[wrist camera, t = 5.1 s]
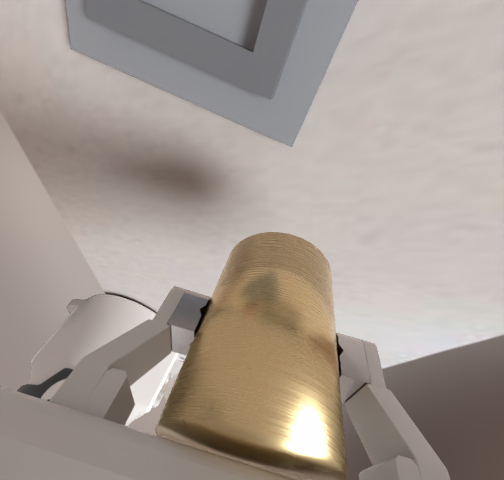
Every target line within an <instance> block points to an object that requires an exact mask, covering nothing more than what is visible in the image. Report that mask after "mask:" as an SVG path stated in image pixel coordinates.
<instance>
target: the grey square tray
mask: <svg viewBox="0 0 504 480" xmlns="http://www.w3.org/2000/svg"><path fill="white" fill-rule="evenodd" d="M65 2H66V10H67V19H68V27H69V36H70V44H71V49H73V50H75V51H77V52H79V53H82V54H84V55H86V56H88V57H91V58H93V59H95V60H97V61H100V62H102V63H104V64H106V65H109V66H111V67H113V68H115V69H117V70H120V71H122V72H124V73H126V74H129V75H131V76H133V77H135V78H138V79H140V80H142V81H144V82H147V83H149V84H151V85H153V86H156V87H158V88H160V89H162V90H165V91H167V92H169V93H171V94H174V95H176V96H178V97H180V98H183V99H185V100H187V101H189V102H192V103H194V104H196V105H198V106H201V107H203V108H205V109H207V110H209V111H212V112H214V113H216V114H218V115H221V116H223V117H225V118H227V119H230V120H232V121H234V122H236V123H239V124H241V125H243V126H245V127H248V128H250V129H252V130H254V131H257V132H259V133H261V134H263V135H266V136H268V137H270V138H272V139H275V140H277V141H279V142H281V143H284V144H286V145H288V146H290V147H292V146H293V144H294V141H295V139H296V137H297V135H298V133H299V130H300V128H301V126H302V124H303V121H304V119H305V117H306V115H307V113H308V110H309V108H310V106H311V104H312V101H313V99H314V97H315V95H316V93H317V90H318V88H319V86H320V84H321V81H322V79H323V77H324V75H325V73H326V70H327V68H328V66H329V64H330V61H331V59H332V57H333V55H334V53H335V50H336V48H337V46H338V44H339V42H340V39H341V37H342V35H343V33H344V30H345V28H346V26H347V24H348V22H349V19H350V17H351V15H352V13H353V10H354V8H355V6H356V4H357V2H358V0H65Z"/></svg>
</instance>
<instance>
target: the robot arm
mask: <svg viewBox="0 0 504 480" xmlns="http://www.w3.org/2000/svg"><path fill="white" fill-rule="evenodd" d="M210 300H211V297H209V296H205V295H202V294H199V293H196V292H193V291H189V290H186V289H183V288H179V287H176V286H174V287H173V288H172V289H171V291H170V292H169V294H168V296H167V297H166V299H165V300H164V302H163V304H162V305H161V307H160V309H159V310H158V312H157V313H154V312H153V311H151V310H149V309H148V308H146V307H144V306H142V305H140V304H138V303H136V302H134V301H131V300H129V299H126V298H123V297H119V296H115V295H108V294H99V295H94V296H92V297H90V298H88V299H86V300H78V299H76V300H72V301H71V302H70V303H69V304H68V306H67V309H68V311H69V313H70V315H69V316H68V318H67V319H66V320H65V321H64V322H63V323H62V325H61V326H60V327H59V328H58V329H57V330H56V331H55V333H54V334H53V335H52V336H51V337H50V338H49V340H48V341H47V342H46V343H45V344H44V346H43V347H42V348H41V349H40V350H39V351H38V353H37V354H36V355H35V356H34V357H33V359H32V361H31V370H32V374H31V378H30V381H29V383H28V384H26V385H23V386H21V387H20V388H19V389H18V390H17V391H14V390H11V389H8V388H5V387H2V386H0V480H296V479H293V478H289V477H286V476H283V475H280V474H277V473H274V472H270V471H267V470H264V469H261V468H258V467H255V466H251V465H248V464H245V463H242V462H239V461H236V460H232V459H229V458H226V457H223V456H220V455H217V454H214V453H210V452H207V451H204V450H201V449H198V448H195V447H191V446H188V445H185V444H182V443H179V442H176V441H172V440H169V439H166V438H163V437H160V436H157V435H153V434H150V433H147V432H144V431H140V430H138V429H135V428H131V427H128V425H129V424H130V423H131V422H132V421H133V420H135V419H136V418H139V417H141V416H143V415H144V413H146V412H149V411H150V409H151V407H154V408H155V407H157V406H158V405H159V402H160V401H161V399H162V397H163V395H164V392H165V391H164V390H163V389H161V388H162V386H163V384H165V383H167V382H168V381H169V380H170V379H171V378H172V377H173V376H174V375H175V374H176V373H177V372H178V371H180V370H181V367H182V365H183V363H184V360H185V358H186V356H187V353H188V351H189V349H190V346H191V344H192V342H193V339H194V337H195V335H196V332H197V330H198V328H199V325H200V323H201V321H202V318H203V316H204V314H205V311H206V309H207V307H208V304H209V302H210ZM336 342H337V354H338V367H339V379H340V392H341V402H342V403H345V404H344V406H345V408H346V410H347V412H348V414H349V417H350V419H351V421H352V423H353V425H354V427H355V429H356V431H357V433H358V435H359V437H360V439H361V441H362V444H363V446H364V448H365V450H366V452H367V454H368V456H369V458H370V460H371V462H372V464H373V466H372V467H370V468H367V469H365V470H363V471H361V473H359V480H450V477H449V474H448V471H447V469H446V467H445V466H444V464H443V463H442V462H441V460H440V459H439V457H438V456H437V455H436V454H435V452H434V450H433V449H432V448H431V446H430V445H429V444H428V442H427V441H426V440H425V438H424V437H423V435H422V434H421V432H420V431H419V430H418V428H417V427H416V426H415V424H414V423H413V421H412V420H411V419H410V417H409V416H408V415H407V413H406V412H405V410H404V409H403V407H402V406H401V405H400V403H399V402H398V401H397V399H396V398H395V396H394V395H393V394H392V392H391V391H390V390H387V389H386V386H385V381H384V377H383V373H382V368H381V364H380V359H379V355H378V351H377V347H376V345H375V344H374V343H371V342H367V341H363V340H360V339H357V338H354V337H350V336H346V335H343V334H339V333H336Z"/></svg>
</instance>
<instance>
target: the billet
mask: <svg viewBox="0 0 504 480" xmlns="http://www.w3.org/2000/svg"><path fill="white" fill-rule="evenodd" d="M155 431H156V434H157V436H160V437H163V438H166V439H169V440H172V441H176V442H179V443H182V444H185V445H188V446H191V447H195V448H198V449H201V450H204V451H207V452H210V453H214V454H217V455H220V456H223V457H226V458H229V459H232V460H236V461H239V462H242V463H245V464H248V465H251V466H255V467H258V468H261V469H264V470H267V471H270V472H274V473H277V474H280V475H283V476H286V477H289V478H293V479H296V480H348V479H347V466H346V454H345V441H344V430H343V416H342V404H341V392H340V379H339V367H338V354H337V342H336V329H335V317H334V305H333V292H332V280H331V270H330V266H329V264H328V261H327V260H326V258H325V256H324V255H323V254H322V253H321V251H320V250H318V249H317V248H316V247H315V246H314V245H312V244H311V243H309V242H308V241H306V240H304V239H302V238H299V237H297V236H294V235H290V234H286V233H278V232H268V233H260V234H256V235H253V236H250V237H248V238H246V239H244V240H242V241H241V242H240V243H238V244H237V245H236V246H235V247H234V249H233V250H232V252H231V253H230V255H229V258H228V260H227V262H226V265H225V267H224V269H223V272H222V274H221V276H220V279H219V281H218V283H217V286H216V288H215V290H214V293H213V295H212V297H211V300H210V302H209V304H208V307H207V309H206V311H205V314H204V316H203V318H202V321H201V323H200V325H199V328H198V330H197V332H196V335H195V337H194V339H193V342H192V344H191V346H190V349H189V351H188V353H187V356H186V358H185V360H184V363H183V365H182V367H181V370H180V372H179V374H178V377H177V379H176V381H175V384H174V386H173V388H172V391H171V393H170V395H169V398H168V400H167V403H166V405H165V407H164V409H163V412H162V414H161V416H160V419H159V421H158V424H157V426H156V429H155Z"/></svg>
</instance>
